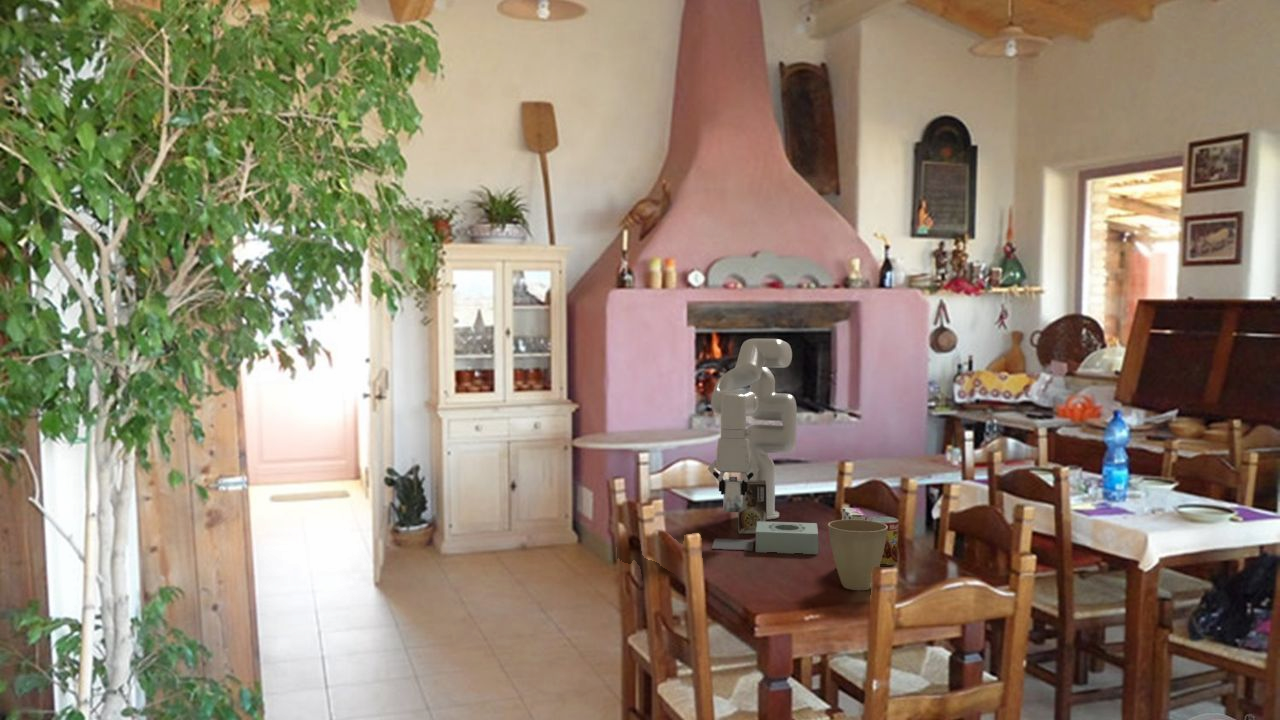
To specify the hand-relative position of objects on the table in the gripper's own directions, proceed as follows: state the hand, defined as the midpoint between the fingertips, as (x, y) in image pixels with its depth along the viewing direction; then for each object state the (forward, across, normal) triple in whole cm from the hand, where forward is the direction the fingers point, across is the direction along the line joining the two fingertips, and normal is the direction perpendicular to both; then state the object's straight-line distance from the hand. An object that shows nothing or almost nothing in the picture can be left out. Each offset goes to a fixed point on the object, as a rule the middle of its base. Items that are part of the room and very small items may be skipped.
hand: (733, 493), depth 286 cm
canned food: (+16, -43, +12) cm, 47 cm away
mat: (+16, 0, 0) cm, 16 cm away
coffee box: (+16, -5, -19) cm, 26 cm away
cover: (+5, 0, 0) cm, 5 cm away
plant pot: (+16, -34, +38) cm, 53 cm away
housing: (+16, -16, 0) cm, 22 cm away
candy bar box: (+16, -34, +23) cm, 44 cm away
